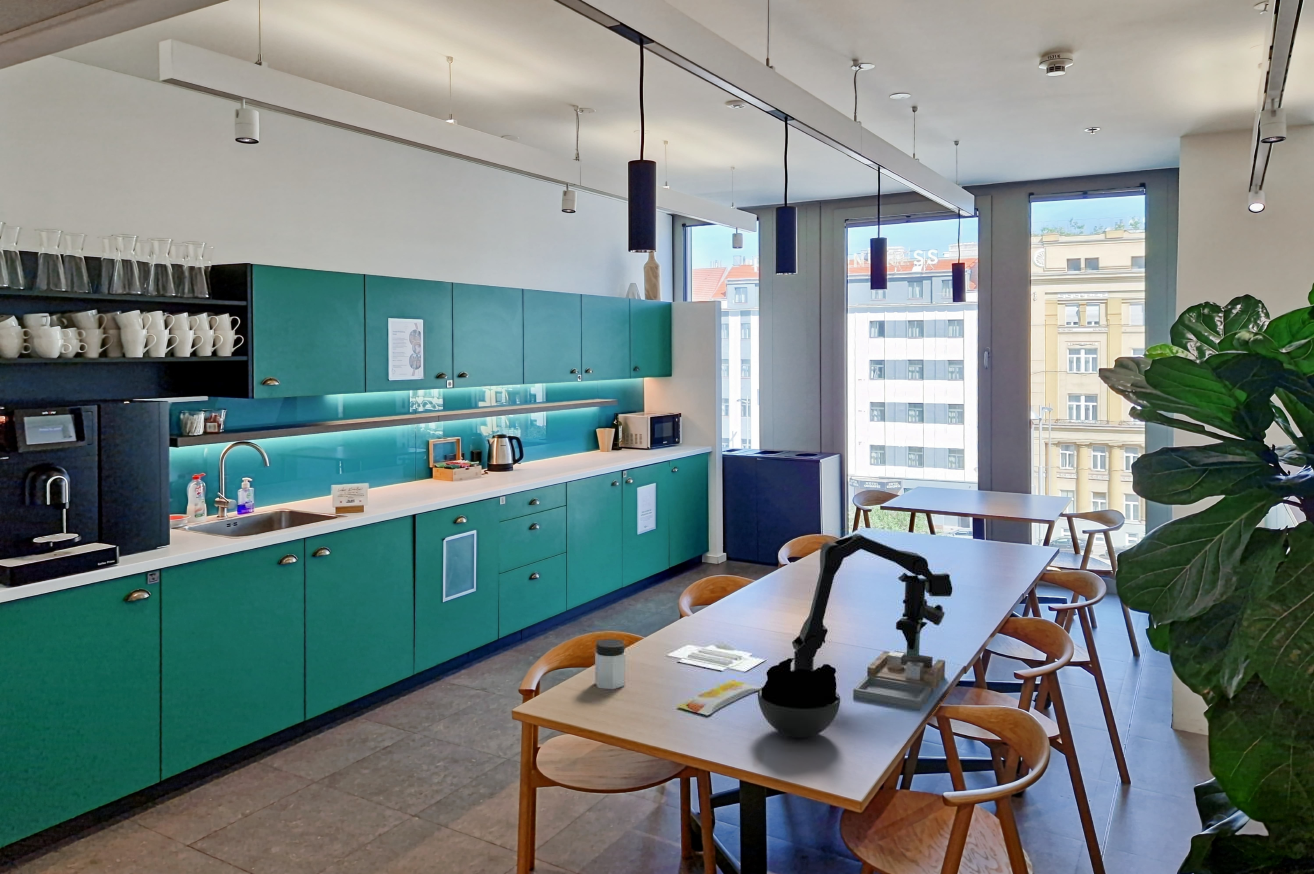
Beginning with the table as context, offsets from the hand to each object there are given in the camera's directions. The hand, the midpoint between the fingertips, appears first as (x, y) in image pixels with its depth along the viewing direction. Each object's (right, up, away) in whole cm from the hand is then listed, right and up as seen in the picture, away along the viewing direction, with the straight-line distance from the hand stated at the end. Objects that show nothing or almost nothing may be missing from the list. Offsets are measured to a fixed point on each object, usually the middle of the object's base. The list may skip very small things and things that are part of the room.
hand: (913, 647), depth 267 cm
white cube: (-6, -5, -4) cm, 9 cm away
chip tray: (-11, -9, -20) cm, 25 cm away
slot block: (-4, -8, -6) cm, 11 cm away
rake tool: (0, -5, 0) cm, 4 cm away
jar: (-90, -8, -12) cm, 91 cm away
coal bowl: (-42, -10, -47) cm, 64 cm away
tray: (-58, -7, +13) cm, 60 cm away
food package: (-59, -9, -23) cm, 64 cm away
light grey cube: (-3, -6, -13) cm, 14 cm away
